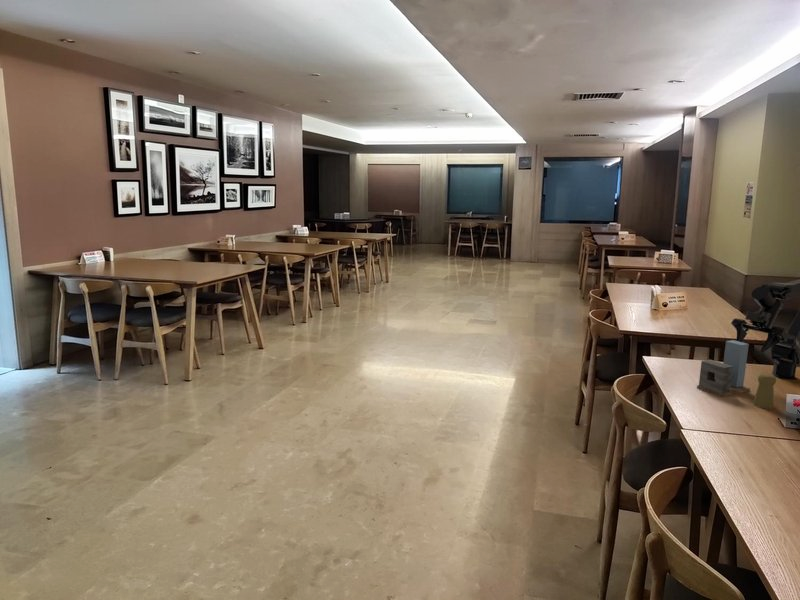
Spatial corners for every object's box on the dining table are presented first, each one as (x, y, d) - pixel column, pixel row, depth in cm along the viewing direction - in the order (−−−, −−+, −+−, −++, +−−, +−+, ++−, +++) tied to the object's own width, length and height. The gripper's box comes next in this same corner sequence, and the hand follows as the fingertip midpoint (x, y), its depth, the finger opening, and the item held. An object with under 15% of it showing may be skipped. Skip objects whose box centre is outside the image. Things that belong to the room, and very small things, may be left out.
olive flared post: (777, 408, 192) (782, 377, 190) (759, 408, 192) (764, 377, 190) (766, 402, 198) (771, 371, 196) (749, 401, 198) (753, 371, 196)
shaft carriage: (727, 381, 216) (733, 340, 213) (743, 386, 210) (748, 344, 207) (708, 385, 211) (713, 343, 208) (723, 390, 206) (729, 347, 203)
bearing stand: (724, 382, 218) (727, 355, 216) (749, 390, 209) (753, 362, 207) (696, 388, 211) (699, 360, 209) (722, 396, 203) (725, 368, 201)
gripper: (734, 298, 218) (715, 333, 216) (785, 307, 202) (765, 345, 200) (746, 312, 223) (728, 346, 222) (797, 322, 207) (778, 359, 205)
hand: (749, 348), depth 212 cm, fingers open, 9 cm apart
